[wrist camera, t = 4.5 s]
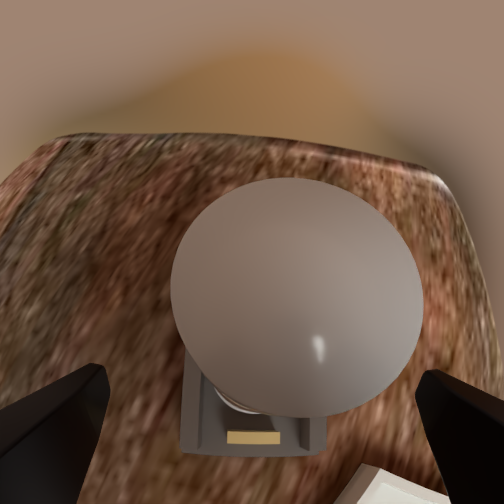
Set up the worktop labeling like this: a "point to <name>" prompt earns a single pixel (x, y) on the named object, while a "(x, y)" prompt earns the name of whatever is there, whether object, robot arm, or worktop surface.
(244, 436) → the fuse holder
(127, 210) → the worktop surface
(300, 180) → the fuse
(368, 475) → the parts tray
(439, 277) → the worktop surface
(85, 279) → the worktop surface
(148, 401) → the worktop surface
